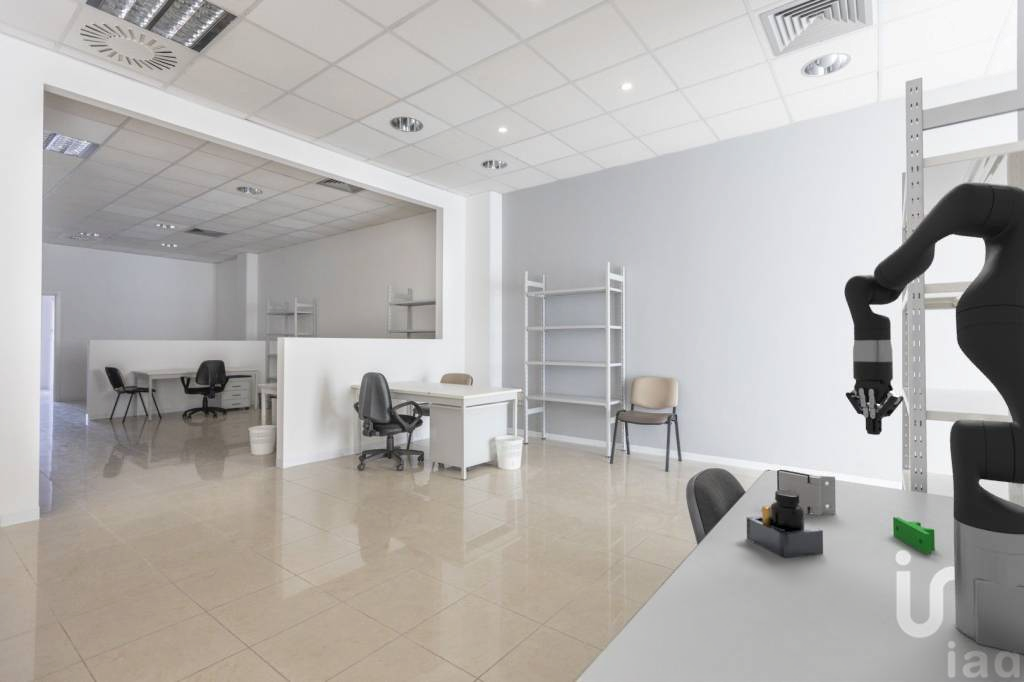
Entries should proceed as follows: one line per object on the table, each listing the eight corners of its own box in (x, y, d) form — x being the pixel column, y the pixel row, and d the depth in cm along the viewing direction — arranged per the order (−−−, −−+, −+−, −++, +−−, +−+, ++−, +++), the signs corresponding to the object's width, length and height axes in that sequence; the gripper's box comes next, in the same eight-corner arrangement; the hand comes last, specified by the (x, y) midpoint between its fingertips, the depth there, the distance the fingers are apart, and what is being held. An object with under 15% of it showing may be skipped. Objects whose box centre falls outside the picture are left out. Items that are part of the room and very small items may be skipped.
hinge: (836, 513, 137) (835, 476, 137) (832, 518, 133) (832, 480, 133) (779, 503, 146) (779, 468, 146) (774, 508, 142) (774, 472, 142)
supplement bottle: (770, 548, 113) (769, 494, 113) (770, 538, 119) (769, 487, 119) (805, 554, 110) (805, 498, 110) (803, 543, 116) (802, 490, 116)
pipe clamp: (944, 555, 109) (944, 534, 109) (925, 555, 109) (925, 533, 110) (910, 536, 120) (910, 517, 120) (893, 535, 121) (893, 516, 121)
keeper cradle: (783, 534, 121) (782, 497, 121) (823, 553, 110) (822, 511, 110) (746, 538, 118) (745, 500, 119) (783, 558, 107) (782, 515, 108)
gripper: (913, 360, 112) (915, 438, 112) (859, 359, 125) (860, 429, 125) (887, 360, 110) (888, 439, 110) (835, 359, 123) (836, 430, 123)
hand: (873, 434), depth 117 cm, fingers closed
